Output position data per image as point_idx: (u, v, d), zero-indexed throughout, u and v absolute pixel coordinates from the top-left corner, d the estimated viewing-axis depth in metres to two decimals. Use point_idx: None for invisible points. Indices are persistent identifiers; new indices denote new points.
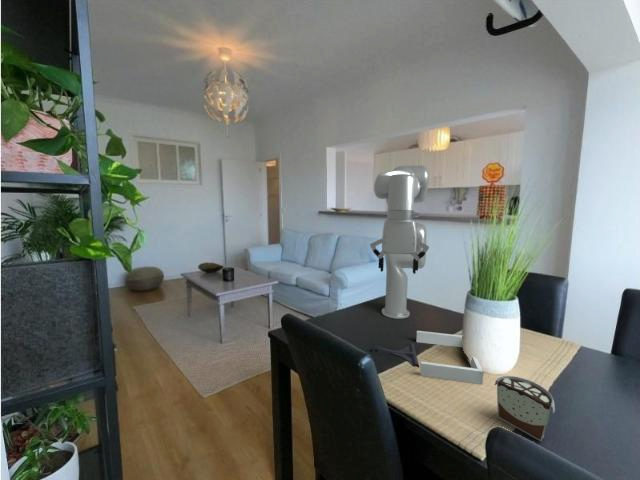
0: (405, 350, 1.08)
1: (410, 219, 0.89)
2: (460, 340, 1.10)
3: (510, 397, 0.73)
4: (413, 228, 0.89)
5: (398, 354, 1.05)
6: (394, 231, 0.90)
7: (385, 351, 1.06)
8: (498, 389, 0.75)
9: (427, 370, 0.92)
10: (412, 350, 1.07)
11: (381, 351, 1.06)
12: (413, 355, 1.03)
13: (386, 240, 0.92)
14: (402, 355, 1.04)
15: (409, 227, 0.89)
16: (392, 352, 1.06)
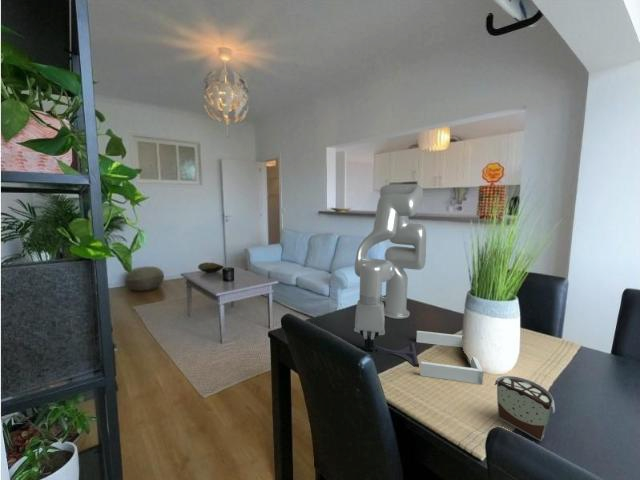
0: (405, 350, 1.08)
1: (378, 304, 1.03)
2: (460, 340, 1.10)
3: (510, 397, 0.73)
4: (381, 311, 1.03)
5: (398, 354, 1.05)
6: (365, 313, 1.04)
7: (385, 351, 1.06)
8: (498, 389, 0.75)
9: (427, 370, 0.92)
10: (412, 350, 1.06)
11: (381, 351, 1.06)
12: (413, 355, 1.03)
13: (358, 319, 1.06)
14: (402, 355, 1.04)
15: (377, 310, 1.03)
16: (392, 352, 1.06)
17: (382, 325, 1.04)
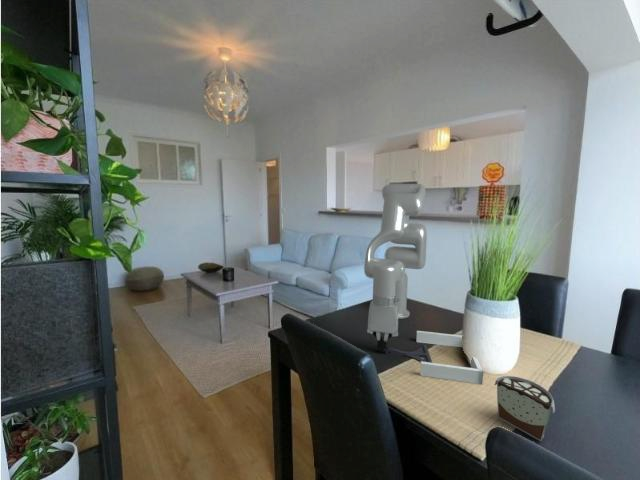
0: (418, 352, 1.07)
1: (392, 304, 1.02)
2: (460, 340, 1.10)
3: (510, 397, 0.73)
4: (394, 312, 1.02)
5: (412, 356, 1.04)
6: (378, 314, 1.03)
7: (398, 353, 1.05)
8: (498, 389, 0.75)
9: (427, 370, 0.92)
10: (426, 351, 1.05)
11: (394, 353, 1.05)
12: (427, 357, 1.02)
13: (371, 320, 1.04)
14: (416, 357, 1.03)
15: (391, 311, 1.02)
16: (405, 354, 1.05)
17: (396, 326, 1.03)
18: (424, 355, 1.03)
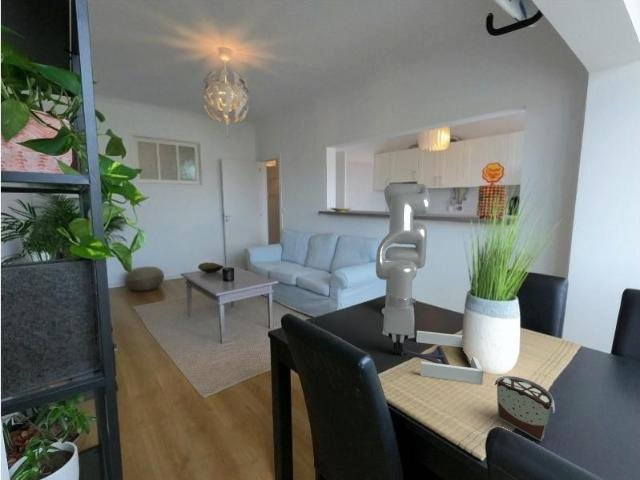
0: (434, 353, 1.05)
1: (408, 306, 1.00)
2: (460, 340, 1.10)
3: (510, 397, 0.73)
4: (411, 313, 1.01)
5: (428, 358, 1.02)
6: (395, 315, 1.02)
7: (414, 355, 1.04)
8: (498, 389, 0.75)
9: (427, 370, 0.92)
10: (442, 353, 1.04)
11: (410, 355, 1.04)
12: (444, 359, 1.01)
13: (387, 322, 1.03)
14: (432, 359, 1.02)
15: (407, 313, 1.01)
16: (422, 356, 1.03)
17: (412, 328, 1.01)
18: (440, 357, 1.02)
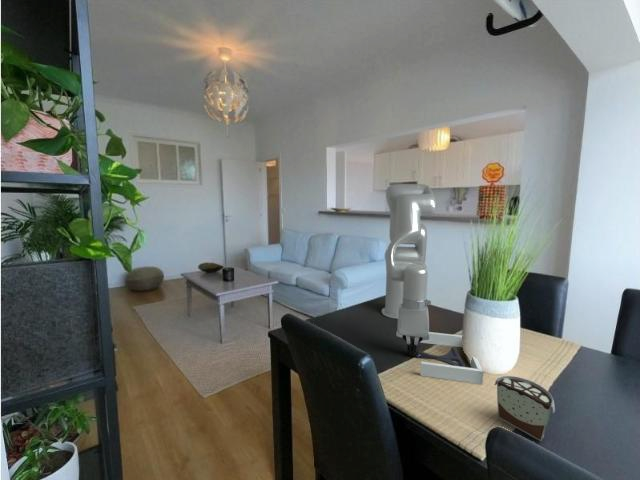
0: (449, 355, 1.04)
1: (423, 308, 0.99)
2: (460, 340, 1.10)
3: (510, 397, 0.73)
4: (426, 315, 1.00)
5: (443, 359, 1.01)
6: (409, 317, 1.01)
7: (429, 356, 1.03)
8: (498, 389, 0.75)
9: (427, 370, 0.92)
10: (457, 355, 1.03)
11: (425, 357, 1.03)
12: (460, 360, 1.00)
13: (401, 324, 1.02)
14: (448, 361, 1.01)
15: (422, 314, 1.00)
16: (437, 357, 1.02)
17: (427, 330, 1.00)
18: (456, 359, 1.01)
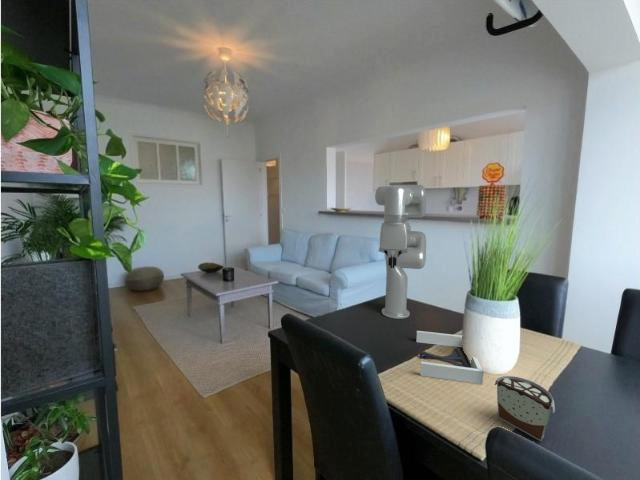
0: (453, 356, 1.04)
1: (402, 222, 1.12)
2: (460, 340, 1.10)
3: (510, 397, 0.73)
4: (404, 229, 1.12)
5: (447, 360, 1.01)
6: (389, 231, 1.13)
7: (433, 357, 1.02)
8: (498, 389, 0.75)
9: (427, 370, 0.92)
10: (461, 356, 1.03)
11: (429, 357, 1.03)
12: (464, 361, 1.00)
13: (383, 238, 1.14)
14: (452, 361, 1.01)
15: (401, 228, 1.12)
16: (441, 358, 1.02)
17: (405, 242, 1.13)
18: (460, 359, 1.01)
